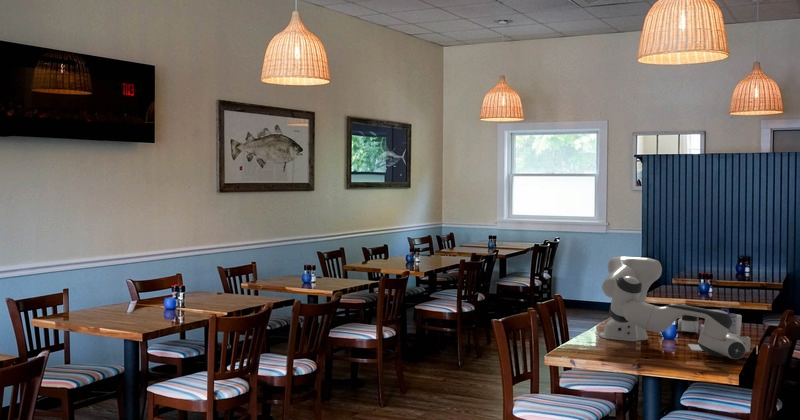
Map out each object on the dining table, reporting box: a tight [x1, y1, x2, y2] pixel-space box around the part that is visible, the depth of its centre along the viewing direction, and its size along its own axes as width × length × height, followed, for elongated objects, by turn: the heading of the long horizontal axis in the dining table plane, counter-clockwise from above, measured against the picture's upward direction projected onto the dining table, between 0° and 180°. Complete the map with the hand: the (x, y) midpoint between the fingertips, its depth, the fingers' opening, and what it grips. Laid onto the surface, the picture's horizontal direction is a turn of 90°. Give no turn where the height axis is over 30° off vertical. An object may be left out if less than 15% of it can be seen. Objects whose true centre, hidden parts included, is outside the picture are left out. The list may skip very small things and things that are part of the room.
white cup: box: [735, 313, 743, 336], centre depth 394 cm, size 8×8×10 cm
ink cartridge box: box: [720, 307, 738, 334], centre depth 383 cm, size 10×6×14 cm, turn 78°
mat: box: [687, 343, 703, 352], centre depth 357 cm, size 9×13×1 cm
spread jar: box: [677, 315, 700, 336], centre depth 397 cm, size 12×11×12 cm
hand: (722, 337), depth 351 cm, fingers open, 8 cm apart
